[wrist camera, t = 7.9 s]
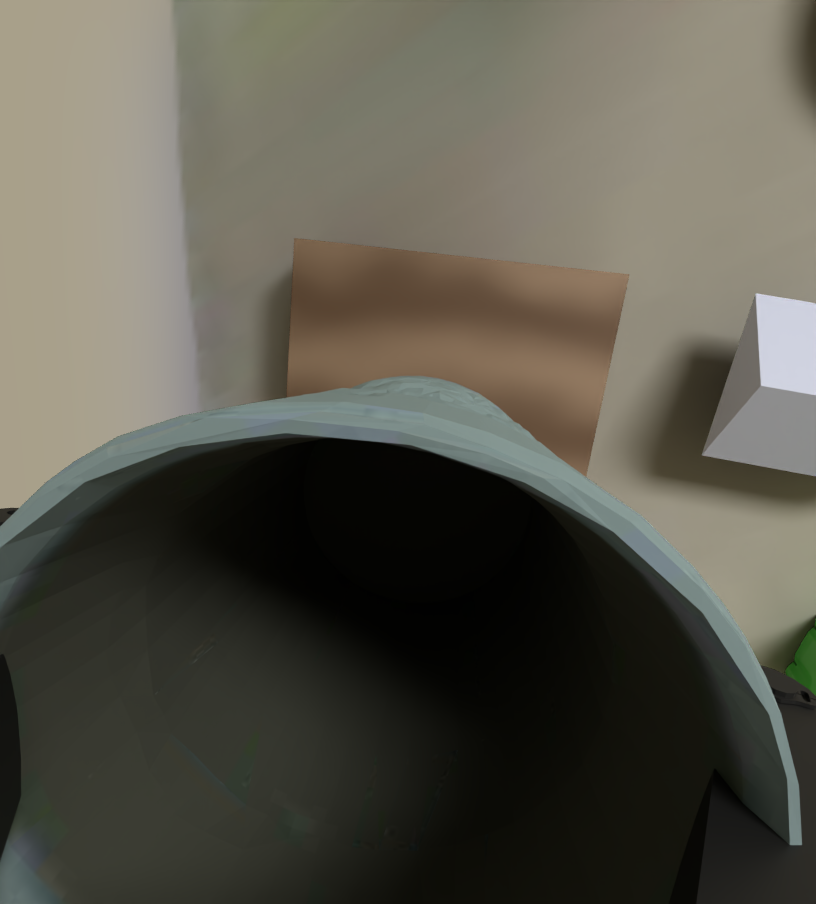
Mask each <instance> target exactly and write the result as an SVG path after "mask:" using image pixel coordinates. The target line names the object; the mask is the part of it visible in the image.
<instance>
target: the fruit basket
mask: <svg viewBox="0 0 816 904" xmlns="http://www.w3.org/2000/svg"><path fill="white" fill-rule="evenodd" d="M814 625H815V627H812V628H811V630H809V631H808V632H807V634H806V636H805V638H804V639H803V641H802V643H801V645H800V646H799V648H798V650H797V652H796V653H795V658H794V662H792V663H791V664H790V665H789V666H788V667H787V669H786V671H785V673H786V675H787V676H789V677H791V678H793V679H794V680H796V681H797V682H799V683H800V684H802V685H803V686H805V687H806V688H808V689H809V690H810V691H811V692H812V693H813V694H814V695H815V696H816V619H815V624H814Z"/></svg>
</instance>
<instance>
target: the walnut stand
mask: <svg viewBox="0 0 816 904" xmlns="http://www.w3.org/2000/svg"><path fill="white" fill-rule="evenodd" d="M628 278H629V274H620V273H610V272H601V271H592V270H583V269H574V268H564V267H555V266H546V265H537V264H527V263H518V262H509V261H500V260H491V259H481V258H472V257H463V256H454V255H445V254H435V253H426V252H417V251H408V250H398V249H389V248H380V247H371V246H362V245H352V244H343V243H334V242H325V241H315V240H306V239H297V238H294V258H293V277H292V297H291V317H290V337H289V356H288V376H287V396H286V398H288V397H294V396H301V395H304V394H314V393H320V392H325V391H330V390H334V389H339V388H352V387H354V386H357V385H360V384H362V383H365V382H368V381H372V380H377V379H383V378H389V377H397V376H425V377H432V378H439V379H443V380H446V381H450V382H454V383H457V384H459V385H461V386H464V387H466V388H468V389H470V390H473V391H475V392H477V393H479V394H481V395H482V396H483V397H485V398H486V399H488V400H489V401H491V402H492V403H493V404H495V405H496V406H498V407H499V408H500V409H501V410H502V411H503V412H504V413H506V414H507V415H508V416H509V417H510V418H511V419H512V420H513V421H514V422H516V423H518V424H520V425H521V426H522V427H523V428H524V429H525V430H527V431H529V432H530V434H531V435H532V436H533V437H534V438H535V439H536V440H537V441H539V442H541V443H542V444H543V445H544V446H545V447H547V448H548V449H549V450H550V451H551V452H553V453H554V454H555V455H556V456H557V457H559V458H560V459H562V460H563V461H564V462H566V463H567V464H569V465H570V466H571V467H573V468H574V469H576V470H577V471H578V472H580V473H581V474H582V475H584V476H585V477H586V474H587V470H588V465H589V460H590V456H591V451H592V446H593V442H594V437H595V432H596V428H597V423H598V418H599V414H600V409H601V404H602V400H603V395H604V390H605V386H606V381H607V376H608V372H609V367H610V362H611V358H612V353H613V348H614V344H615V339H616V334H617V330H618V325H619V320H620V316H621V311H622V306H623V302H624V297H625V292H626V288H627V283H628Z"/></svg>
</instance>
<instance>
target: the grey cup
mask: <svg viewBox="0 0 816 904" xmlns="http://www.w3.org/2000/svg"><path fill="white" fill-rule="evenodd" d="M1 654H4V656H5V659H6V662H7V665H8V668H9V672H10V675H11V680H12V685H13V690H14V695H15V700H16V705H17V713H18V724H19V737H20V750H21V798H20V801H19V804H18V807H17V810H16V813H15V817H14V820H13V823H12V826H11V829H10V832H9V835H8V839H7V842H6V845H5V848H4V851H3V854H2V857H1V860H0V904H669V901H670V897H671V894H672V891H673V887H674V884H675V880H676V877H677V874H678V871H679V867H680V864H681V861H682V858H683V854H684V851H685V848H686V845H687V842H688V839H689V836H690V833H691V830H692V827H693V824H694V821H695V818H696V815H697V812H698V809H699V807H700V804H701V801H702V798H703V795H704V793H705V790H706V788H707V785H708V782H709V780H710V777H711V775H712V773H713V770H714V768H715V769H716V770H717V772H718V773H719V774H720V775H721V777H722V778H723V779H724V780H725V782H726V783H727V784H728V785H729V787H730V788H731V789H732V790H733V792H734V793H735V794H736V795H737V796H738V798H739V799H740V800H741V801H742V803H743V804H744V805H745V806H747V807H748V808H749V809H750V810H751V811H752V812H753V813H755V814H756V815H757V816H758V817H759V818H760V819H761V820H762V821H764V822H765V823H766V824H767V825H768V826H769V827H770V828H772V829H773V830H774V831H775V832H776V833H777V834H778V835H779V836H781V837H782V838H783V839H784V840H785V841H786V842H787V843H788V844H789V845H802V834H801V815H800V796H799V784H798V780H797V776H796V772H795V768H794V764H793V760H792V756H791V752H790V748H789V744H788V740H787V735H786V731H785V727H784V723H783V719H782V715H781V712H780V710H779V708H778V705H777V703H776V700H775V698H774V695H773V693H772V690H771V688H770V685H769V683H768V680H767V678H766V676H765V674H764V672H763V670H762V668H761V666H760V664H759V662H758V660H757V658H756V656H755V654H754V652H753V651H752V649H751V647H750V645H749V643H748V641H747V639H746V637H745V635H744V634H743V632H742V631H741V629H740V628H739V626H738V625H737V623H736V622H735V620H734V619H733V617H732V616H731V614H730V613H729V611H728V610H727V608H726V607H725V605H724V604H723V602H722V601H721V600H720V599H719V597H718V596H717V595H716V594H715V592H714V591H713V590H712V589H711V588H710V586H709V585H708V584H707V583H706V581H705V580H704V579H703V578H702V576H701V575H700V574H699V573H698V572H697V570H696V569H695V568H694V567H693V566H692V565H691V564H690V563H689V562H688V561H687V560H686V559H685V558H684V557H683V556H682V555H681V554H680V553H679V552H678V551H677V550H676V549H675V548H674V547H673V546H672V545H671V544H670V543H669V542H668V541H667V540H666V539H665V538H664V537H663V536H662V535H661V534H660V533H659V532H658V531H657V530H656V529H655V528H654V527H653V526H652V525H650V524H649V523H648V522H647V521H646V520H645V519H644V518H643V517H642V516H641V515H640V514H638V513H637V512H635V511H634V510H632V509H631V508H630V507H628V506H627V505H625V504H624V503H622V502H621V501H619V500H618V499H617V498H615V497H614V496H612V495H611V494H609V493H608V492H606V491H605V490H603V489H602V488H601V487H599V486H598V485H596V484H595V483H593V482H592V481H591V480H589V479H588V478H587V477H585V476H584V475H582V474H581V473H580V472H578V471H577V470H576V469H574V468H573V467H571V466H570V465H569V464H567V463H566V462H564V461H563V460H562V459H560V458H559V457H557V456H556V455H555V454H554V453H553V452H551V451H550V450H549V449H548V448H547V447H545V446H544V445H543V444H542V443H541V442H539V441H537V440H536V439H535V438H534V437H533V436H532V435H531V434H530V432H529V431H527V430H525V429H524V428H523V427H522V426H521V425H520V424H518V423H516V422H514V421H513V420H512V419H511V418H510V417H509V416H508V415H507V414H506V413H504V412H503V411H502V410H501V409H500V408H499V407H498V406H496V405H495V404H493V403H492V402H491V401H489V400H488V399H486V398H485V397H483V396H482V395H481V394H479V393H477V392H475V391H473V390H470V389H468V388H466V387H464V386H461V385H459V384H457V383H454V382H450V381H446V380H443V379H439V378H432V377H425V376H397V377H389V378H383V379H377V380H372V381H368V382H365V383H362V384H360V385H357V386H354V387H352V388H339V389H334V390H330V391H325V392H320V393H314V394H304V395H301V396H294V397H288V398H281V399H274V400H268V401H261V402H255V403H249V404H244V405H238V406H233V407H227V408H222V409H216V410H211V411H205V412H200V413H194V414H189V415H184V416H179V417H176V418H173V419H170V420H167V421H164V422H161V423H157V424H155V425H151V426H148V427H145V428H143V429H139V430H136V431H133V432H130V433H127V434H124V435H121V436H118V437H116V438H114V439H113V440H111V441H109V442H107V443H106V444H104V445H102V446H100V447H99V448H97V449H95V450H94V451H92V452H90V453H88V454H86V455H85V456H83V457H81V458H80V459H78V460H76V461H74V462H73V463H72V464H70V465H69V466H68V467H66V468H65V469H63V470H62V471H61V472H59V473H58V474H57V475H55V476H54V477H53V478H51V479H50V480H49V481H47V482H46V483H45V484H44V485H43V486H42V487H41V488H40V489H38V490H37V492H36V493H35V494H33V495H32V496H31V497H30V498H29V499H28V500H27V501H26V502H25V503H24V504H23V505H22V506H21V507H20V508H19V509H18V510H17V511H16V512H15V513H14V514H13V515H12V516H11V517H10V518H8V519H7V520H6V521H5V522H4V523H3V524H2V525H1V526H0V655H1Z"/></svg>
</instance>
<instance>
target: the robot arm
mask: <svg viewBox="0 0 816 904" xmlns="http://www.w3.org/2000/svg"><path fill="white" fill-rule="evenodd" d="M18 509H19V508H5V509H0V526H1V525H2V524H3V523H4V522H5V521H6V520H7V519H8V518H10V517H11V516H12V515H13V514H14V513H15V512H16V511H17V510H18ZM760 666H761V665H760ZM761 668H762V670H763V672H764V674H765V676H766V678H767V680H768V683H769V685H770V688H771V690H772V693H773V695H774V698H775V700H776V703H777V705H778V708H779V710H780V712H781V715H782V719H783V723H784V727H785V731H786V735H787V740H788V744H789V748H790V752H791V756H792V760H793V764H794V768H795V772H796V776H797V780H798V784H799V796H800V815H801V834H802V845H789V844H788V843H787V842H786V841H785V840H784V839H783V838H782V837H781V836H779V835H778V834H777V833H776V832H775V831H774V830H773V829H772V828H770V827H769V826H768V825H767V824H766V823H765V822H764V821H762V820H761V819H760V818H759V817H758V816H757V815H756V814H755V813H753V812H752V811H751V810H750V809H749V808H748V807H747V806H745V805H744V804H743V803H742V801H741V800H740V799H739V798H738V796H737V795H736V794H735V793H734V792H733V790H732V789H731V788H730V787H729V785H728V784H727V783H726V782H725V780H724V779H723V778H722V777H721V775H720V774H719V773H718V772H717V770H716V769H715V768H714V770H713V773H712V775H711V777H710V780H709V782H708V785H707V788H706V790H705V793H704V795H703V798H702V801H701V804H700V807H699V809H698V812H697V815H696V818H695V821H694V824H693V827H692V830H691V833H690V836H689V839H688V842H687V845H686V848H685V851H684V854H683V858H682V861H681V864H680V867H679V871H678V874H677V877H676V880H675V884H674V887H673V891H672V894H671V897H670V901H669V904H816V696H815V695H814V694H813V693H812V692H811V691H810V690H809V689H808V688H806V687H805V686H803V685H802V684H800V683H799V682H797V681H796V680H794V679H793V678H791V677H789V676H787V675H785V674H783V673H780V672H778V671H776V670H774V669H771V668H768V667H764V666H761ZM20 798H21V750H20V737H19V724H18V713H17V705H16V700H15V695H14V690H13V685H12V680H11V675H10V672H9V668H8V665H7V662H6V659H5V656H4V654H1V655H0V860H1V857H2V854H3V851H4V848H5V845H6V842H7V839H8V835H9V832H10V829H11V826H12V823H13V820H14V817H15V813H16V810H17V807H18V804H19V801H20Z"/></svg>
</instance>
